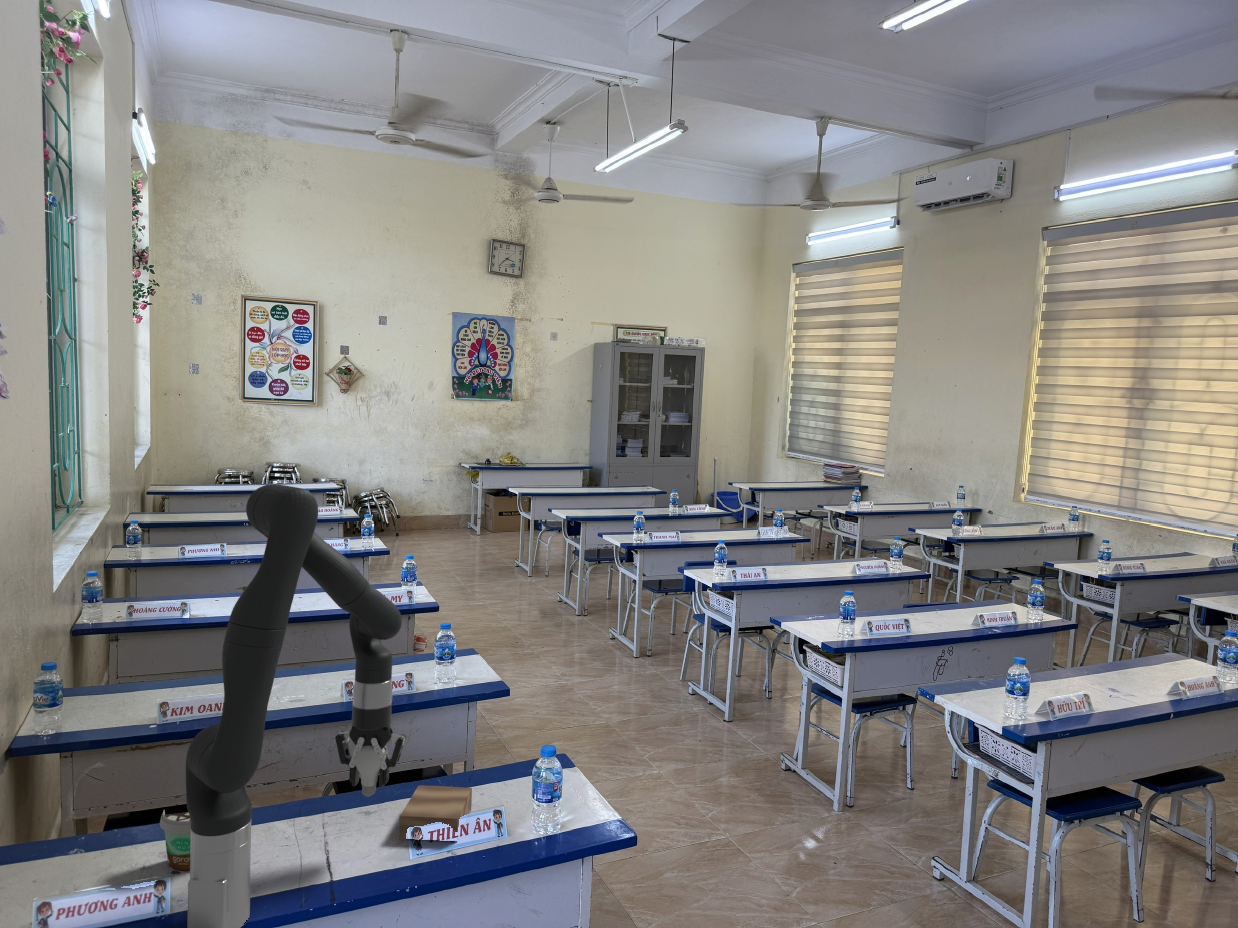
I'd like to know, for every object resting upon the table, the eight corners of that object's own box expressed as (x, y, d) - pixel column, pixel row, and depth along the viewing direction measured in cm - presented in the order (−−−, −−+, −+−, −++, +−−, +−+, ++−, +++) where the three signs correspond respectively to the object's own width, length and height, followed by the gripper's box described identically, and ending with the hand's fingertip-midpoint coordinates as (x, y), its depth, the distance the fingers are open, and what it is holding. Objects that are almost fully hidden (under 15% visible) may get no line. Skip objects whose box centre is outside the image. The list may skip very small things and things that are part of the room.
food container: (150, 878, 146) (151, 825, 145) (160, 860, 152) (160, 809, 151) (223, 870, 149) (224, 819, 149) (230, 853, 155) (231, 803, 155)
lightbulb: (352, 790, 160) (355, 737, 160) (384, 788, 162) (386, 735, 162) (352, 804, 154) (354, 749, 154) (384, 801, 156) (387, 747, 156)
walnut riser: (457, 842, 162) (457, 818, 162) (399, 839, 163) (399, 815, 163) (471, 809, 176) (471, 787, 176) (418, 806, 177) (418, 785, 176)
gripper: (329, 705, 154) (326, 791, 154) (402, 709, 154) (398, 795, 154) (343, 692, 161) (340, 774, 162) (413, 696, 161) (409, 778, 162)
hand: (369, 784), depth 158 cm, fingers closed on lightbulb, 5 cm apart
